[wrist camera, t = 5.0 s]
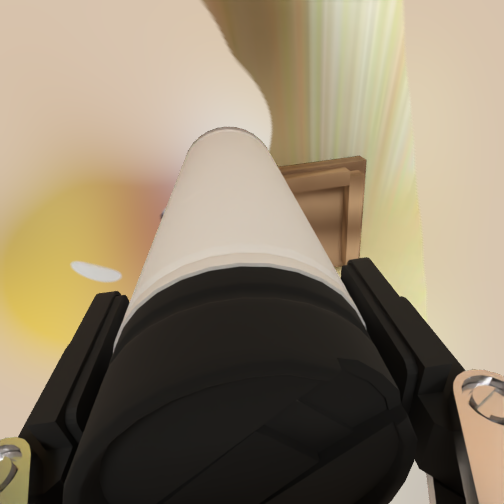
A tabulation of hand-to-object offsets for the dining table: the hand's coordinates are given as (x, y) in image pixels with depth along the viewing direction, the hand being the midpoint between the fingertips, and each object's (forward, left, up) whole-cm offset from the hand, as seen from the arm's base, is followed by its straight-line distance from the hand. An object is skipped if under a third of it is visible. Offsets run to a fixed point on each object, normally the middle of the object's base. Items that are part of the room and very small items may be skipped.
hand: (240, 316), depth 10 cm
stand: (+11, +9, -30) cm, 33 cm away
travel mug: (0, 0, -15) cm, 15 cm away
